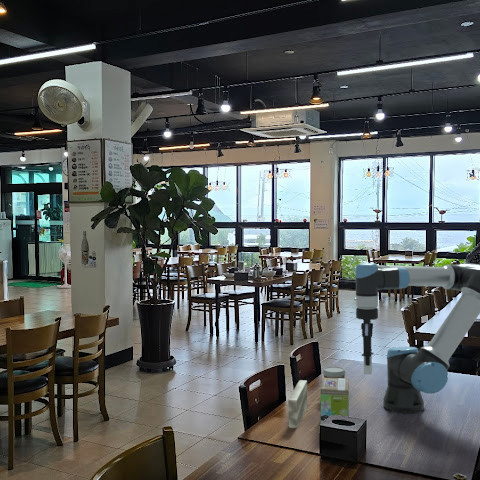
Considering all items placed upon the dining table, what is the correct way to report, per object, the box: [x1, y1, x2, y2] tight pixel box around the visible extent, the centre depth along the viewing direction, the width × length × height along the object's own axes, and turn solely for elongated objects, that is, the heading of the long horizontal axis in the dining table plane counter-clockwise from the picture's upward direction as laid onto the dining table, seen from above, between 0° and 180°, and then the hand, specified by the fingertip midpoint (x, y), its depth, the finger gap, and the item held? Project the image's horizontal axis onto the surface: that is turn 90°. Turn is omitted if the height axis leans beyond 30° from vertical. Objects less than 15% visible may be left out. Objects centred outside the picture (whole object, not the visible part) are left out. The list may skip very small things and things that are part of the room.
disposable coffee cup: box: [322, 365, 347, 379], centre depth 226 cm, size 10×10×12 cm
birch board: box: [287, 379, 308, 429], centre depth 207 cm, size 3×24×10 cm, turn 164°
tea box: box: [319, 377, 350, 424], centre depth 198 cm, size 15×10×15 cm, turn 169°
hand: (367, 373), depth 195 cm, fingers closed
